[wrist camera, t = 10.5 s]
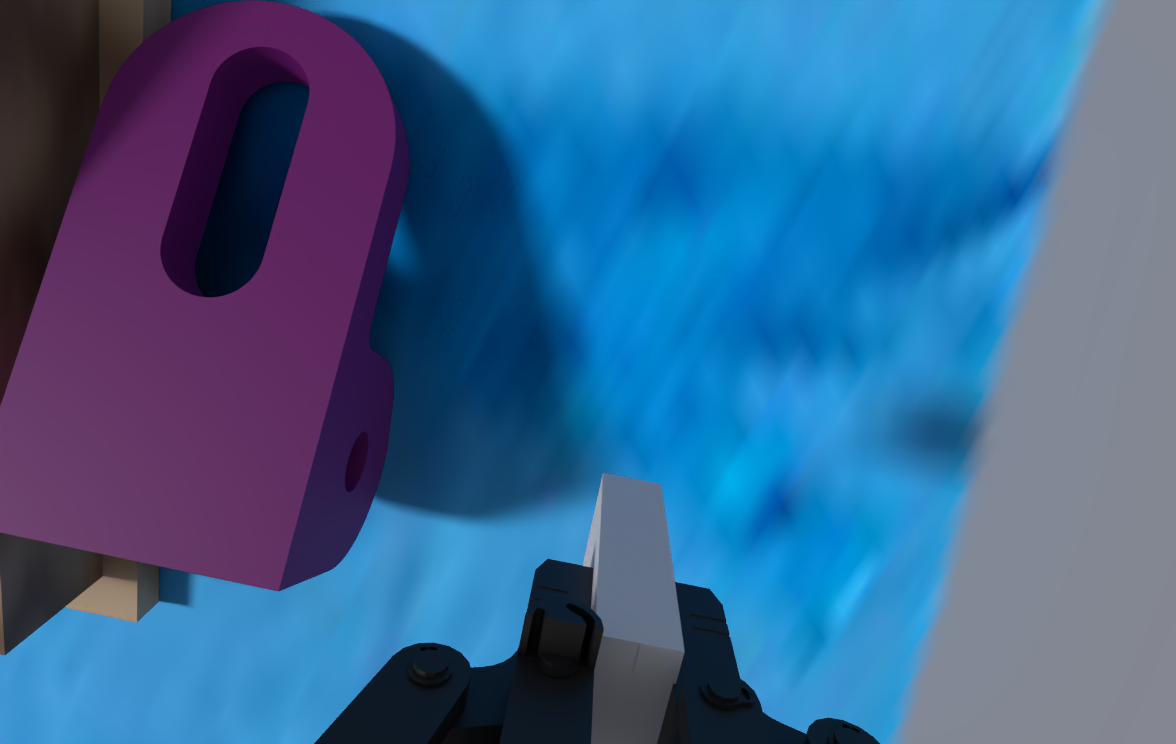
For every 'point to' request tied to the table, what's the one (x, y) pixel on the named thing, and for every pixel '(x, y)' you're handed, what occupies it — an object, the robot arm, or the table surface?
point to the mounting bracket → (213, 317)
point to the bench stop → (24, 245)
